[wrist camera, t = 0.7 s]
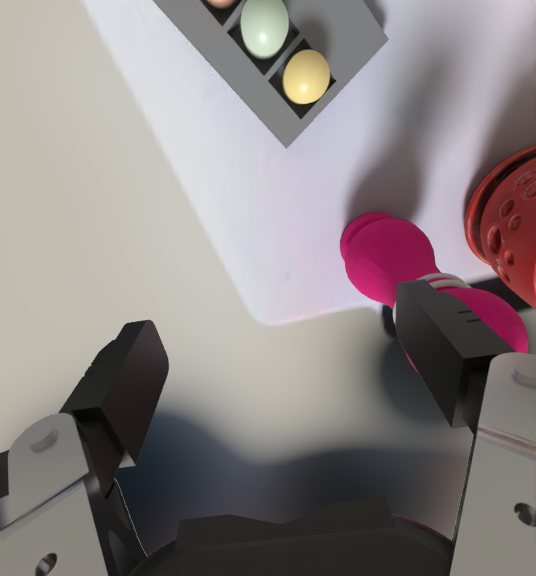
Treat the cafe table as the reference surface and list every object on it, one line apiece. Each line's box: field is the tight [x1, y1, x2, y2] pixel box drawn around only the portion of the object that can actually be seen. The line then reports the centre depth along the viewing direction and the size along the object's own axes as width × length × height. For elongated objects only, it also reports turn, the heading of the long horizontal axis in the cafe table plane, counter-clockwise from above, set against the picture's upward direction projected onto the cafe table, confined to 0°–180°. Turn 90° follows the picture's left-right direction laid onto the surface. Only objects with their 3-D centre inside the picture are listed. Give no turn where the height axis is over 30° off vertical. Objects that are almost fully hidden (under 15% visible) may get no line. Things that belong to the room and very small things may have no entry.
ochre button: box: [282, 50, 330, 104], centre depth 23 cm, size 3×3×3 cm
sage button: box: [241, 0, 289, 60], centre depth 21 cm, size 3×3×3 cm
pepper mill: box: [340, 212, 528, 372], centre depth 23 cm, size 7×7×20 cm
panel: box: [153, 0, 389, 149], centre depth 23 cm, size 10×13×2 cm
